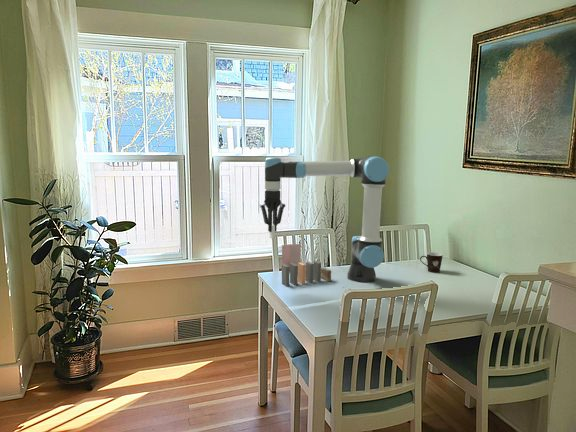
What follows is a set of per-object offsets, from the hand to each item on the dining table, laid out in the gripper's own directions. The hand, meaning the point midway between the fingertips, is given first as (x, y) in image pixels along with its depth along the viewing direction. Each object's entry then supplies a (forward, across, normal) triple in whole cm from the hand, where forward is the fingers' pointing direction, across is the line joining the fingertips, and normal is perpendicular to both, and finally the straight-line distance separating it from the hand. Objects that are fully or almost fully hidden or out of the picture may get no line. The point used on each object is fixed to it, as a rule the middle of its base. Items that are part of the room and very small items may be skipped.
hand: (272, 238), depth 212 cm
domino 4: (+24, -26, 0) cm, 35 cm away
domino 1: (+24, -8, 0) cm, 26 cm away
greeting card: (+25, -22, -21) cm, 39 cm away
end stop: (+24, -31, 0) cm, 39 cm away
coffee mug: (+25, -96, +8) cm, 99 cm away
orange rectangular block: (+24, -16, 0) cm, 29 cm away
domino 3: (+24, -21, 0) cm, 32 cm away
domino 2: (+24, -12, 0) cm, 27 cm away
